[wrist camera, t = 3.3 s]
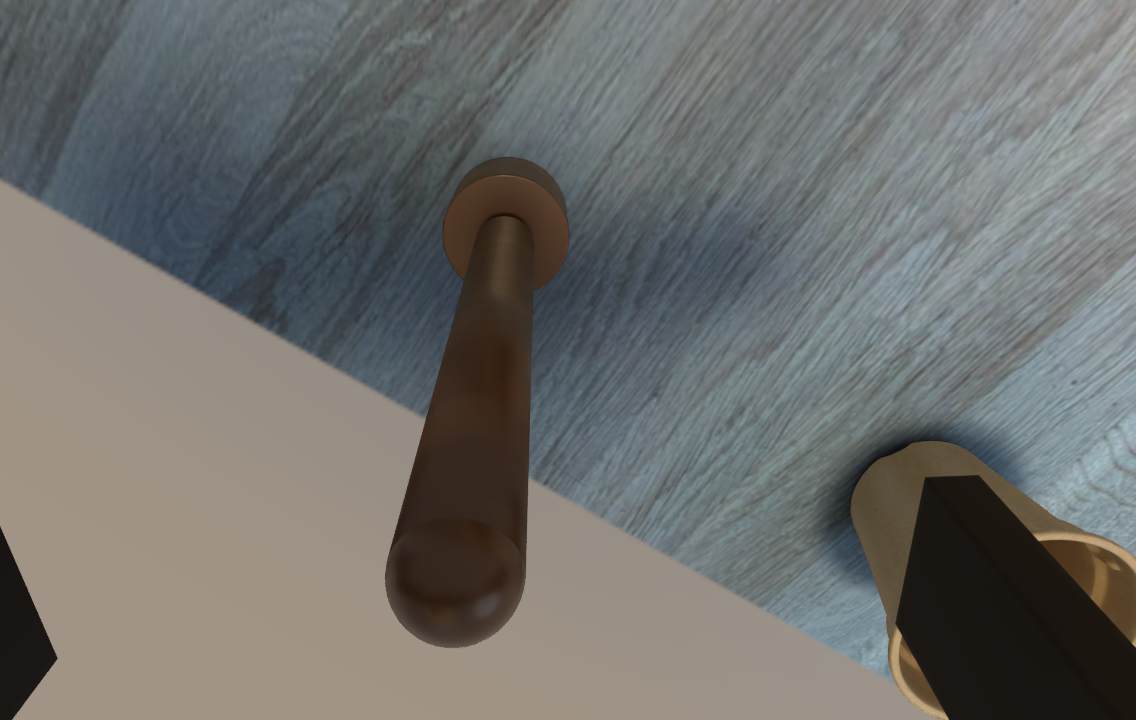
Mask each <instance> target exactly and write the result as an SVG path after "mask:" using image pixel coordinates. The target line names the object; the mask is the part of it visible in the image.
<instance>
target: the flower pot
mask: <svg viewBox="0 0 1136 720" xmlns="http://www.w3.org/2000/svg"><path fill="white" fill-rule="evenodd" d="M964 475H979V476H980V477H981V478H982V479H983V480H984V481H985V482H986V483H987V485H988V486H989V487H990V488H991V489H992V490H993V491H994V492H995V493H996V494H997V496H998V497H999V498H1000V499H1001V500H1002V501H1003V502H1004V503H1005V504H1006V505H1007V507H1008V508H1009V509H1010V510H1011V511H1012V512H1013V513H1014V514H1015V515H1016V516H1017V518H1018V519H1019V520H1020V521H1021V522H1022V523H1023V524H1024V525H1025V526H1026V527H1027V529H1028V530H1029V531H1030V532H1031V533H1032V534H1033V535H1034V536H1035V537H1036V538H1037V540H1038V541H1039V542H1040V543H1041V544H1042V545H1043V546H1044V547H1045V548H1046V549H1047V551H1048V552H1049V553H1050V554H1051V555H1052V556H1053V557H1054V558H1055V559H1056V560H1057V562H1058V563H1059V564H1060V565H1061V566H1062V567H1063V568H1064V569H1065V570H1066V571H1067V573H1068V574H1069V575H1070V576H1071V577H1072V578H1073V579H1074V580H1075V581H1076V582H1077V583H1078V585H1079V586H1080V587H1081V588H1082V589H1083V590H1084V591H1085V592H1086V593H1087V594H1088V596H1089V597H1090V598H1091V599H1092V600H1093V601H1094V602H1095V603H1096V604H1097V605H1098V607H1099V608H1100V609H1101V610H1102V611H1103V612H1104V613H1105V614H1106V615H1107V616H1108V618H1109V619H1110V620H1111V621H1112V622H1113V623H1114V624H1115V625H1116V626H1117V627H1118V629H1119V630H1120V631H1121V632H1122V633H1123V634H1124V635H1125V636H1126V637H1127V638H1128V640H1129V641H1130V642H1131V643H1132V644H1133V645H1134V646H1135V647H1136V558H1135V557H1134V556H1133V555H1132V554H1131V553H1129V552H1128V551H1127V550H1126V549H1124V548H1123V547H1121V546H1120V545H1118V544H1116V543H1115V542H1113V541H1111V540H1109V539H1106V538H1104V537H1102V536H1099V535H1096V534H1093V533H1089V532H1085V531H1084V530H1082V529H1080V528H1079V527H1076V526H1074V525H1072V524H1070V523H1068V522H1065V521H1062V520H1059V519H1057V518H1056V517H1054V516H1053V515H1052V514H1050V513H1049V512H1048V511H1046V510H1045V509H1044V508H1043V507H1041V506H1040V505H1039V504H1037V503H1036V502H1035V501H1033V500H1032V499H1031V498H1029V497H1028V496H1027V495H1025V494H1024V493H1023V492H1021V491H1020V490H1019V489H1017V488H1016V487H1015V486H1014V485H1012V484H1011V483H1010V482H1008V481H1007V480H1006V479H1004V478H1003V477H1002V476H1000V475H999V474H998V473H996V472H995V471H994V470H992V469H991V468H990V467H988V466H987V465H986V464H984V463H983V462H982V461H981V460H980V459H978V458H977V457H976V456H975V455H973V454H972V453H971V452H969V451H968V450H966V449H964V448H962V447H960V446H958V445H955V444H952V443H948V442H942V441H922V442H915V443H911V444H909V445H908V446H907V447H906V448H904V449H902V450H901V451H899V452H896V453H894V454H892V455H889V456H886V457H882V458H880V459H878V460H877V461H876V462H874V463H873V464H872V465H871V466H870V467H869V468H868V469H867V470H866V472H865V473H864V474H863V475H862V477H861V478H860V480H859V481H858V483H857V485H856V487H855V490H854V493H853V496H852V500H851V517H852V521H853V524H854V528H855V530H856V532H857V534H858V537H859V539H860V542H861V545H862V547H863V550H864V553H865V555H866V558H867V561H868V564H869V566H870V569H871V572H872V574H873V577H874V580H875V583H876V586H877V589H878V592H879V594H880V597H881V600H882V603H883V606H884V609H885V611H886V614H887V616H886V624H887V633H888V637H889V644H888V661H889V667H890V671H891V673H892V676H893V679H894V681H895V683H896V684H897V686H898V688H899V689H900V691H901V692H902V694H903V695H904V696H905V697H906V698H907V699H908V701H909V702H911V703H912V704H913V705H915V706H916V707H917V708H919V709H920V710H921V711H924V712H926V713H927V714H930V715H931V716H934V717H937V718H939V719H943V720H949V719H948V717H947V716H946V714H945V712H944V710H943V708H942V707H941V705H940V703H939V701H938V699H937V698H936V696H935V694H934V692H933V691H932V689H931V687H930V685H929V683H928V682H927V680H926V678H925V676H924V674H923V673H922V671H921V669H920V667H919V665H918V664H917V662H916V660H915V658H914V656H913V655H912V653H911V651H910V649H909V648H908V646H907V644H906V642H905V640H904V639H903V637H902V635H901V633H900V631H899V630H898V628H897V626H896V624H895V622H896V617H897V612H898V607H899V602H900V597H901V593H902V588H903V583H904V578H905V573H906V568H907V563H908V558H909V553H910V548H911V543H912V538H913V533H914V529H915V524H916V519H917V514H918V509H919V504H920V499H921V494H922V489H923V484H924V479H925V477H939V476H964Z"/></svg>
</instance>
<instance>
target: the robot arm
mask: <svg viewBox="0 0 1136 720" xmlns="http://www.w3.org/2000/svg"><path fill="white" fill-rule="evenodd" d="M895 624H896V626H897V628H898V630H899V631H900V633H901V635H902V637H903V639H904V640H905V642H906V644H907V646H908V648H909V649H910V651H911V653H912V655H913V656H914V658H915V660H916V662H917V664H918V665H919V667H920V669H921V671H922V673H923V674H924V676H925V678H926V680H927V682H928V683H929V685H930V687H931V689H932V691H933V692H934V694H935V696H936V698H937V699H938V701H939V703H940V705H941V707H942V708H943V710H944V712H945V714H946V716H947V717H948V719H949V720H1136V647H1135V646H1134V645H1133V644H1132V643H1131V642H1130V641H1129V640H1128V638H1127V637H1126V636H1125V635H1124V634H1123V633H1122V632H1121V631H1120V630H1119V629H1118V627H1117V626H1116V625H1115V624H1114V623H1113V622H1112V621H1111V620H1110V619H1109V618H1108V616H1107V615H1106V614H1105V613H1104V612H1103V611H1102V610H1101V609H1100V608H1099V607H1098V605H1097V604H1096V603H1095V602H1094V601H1093V600H1092V599H1091V598H1090V597H1089V596H1088V594H1087V593H1086V592H1085V591H1084V590H1083V589H1082V588H1081V587H1080V586H1079V585H1078V583H1077V582H1076V581H1075V580H1074V579H1073V578H1072V577H1071V576H1070V575H1069V574H1068V573H1067V571H1066V570H1065V569H1064V568H1063V567H1062V566H1061V565H1060V564H1059V563H1058V562H1057V560H1056V559H1055V558H1054V557H1053V556H1052V555H1051V554H1050V553H1049V552H1048V551H1047V549H1046V548H1045V547H1044V546H1043V545H1042V544H1041V543H1040V542H1039V541H1038V540H1037V538H1036V537H1035V536H1034V535H1033V534H1032V533H1031V532H1030V531H1029V530H1028V529H1027V527H1026V526H1025V525H1024V524H1023V523H1022V522H1021V521H1020V520H1019V519H1018V518H1017V516H1016V515H1015V514H1014V513H1013V512H1012V511H1011V510H1010V509H1009V508H1008V507H1007V505H1006V504H1005V503H1004V502H1003V501H1002V500H1001V499H1000V498H999V497H998V496H997V494H996V493H995V492H994V491H993V490H992V489H991V488H990V487H989V486H988V485H987V483H986V482H985V481H984V480H983V479H982V478H981V477H980V476H979V475H964V476H939V477H925V479H924V484H923V489H922V494H921V499H920V504H919V509H918V514H917V519H916V524H915V529H914V533H913V538H912V543H911V548H910V553H909V558H908V563H907V568H906V573H905V578H904V583H903V588H902V593H901V597H900V602H899V607H898V612H897V617H896V622H895ZM56 660H57V656H56V654H55V651H54V649H53V647H52V644H51V642H50V640H49V638H48V635H47V633H46V631H45V628H44V626H43V624H42V622H41V619H40V617H39V615H38V612H37V610H36V608H35V605H34V603H33V601H32V599H31V596H30V594H29V592H28V589H27V587H26V585H25V582H24V580H23V578H22V576H21V573H20V571H19V569H18V566H17V564H16V562H15V559H14V557H13V555H12V553H11V550H10V548H9V546H8V544H7V541H6V539H5V536H4V534H3V532H2V530H1V527H0V720H12V719H13V718H14V716H15V715H16V714H17V712H18V711H19V710H20V708H21V707H22V706H23V704H24V703H25V701H26V700H27V699H28V698H29V696H30V695H31V694H32V692H33V691H34V690H35V688H36V687H37V685H38V684H39V683H40V682H41V680H42V679H43V677H44V676H45V675H46V673H47V672H48V671H49V669H50V668H51V667H52V665H53V664H54V663H55V661H56Z"/></svg>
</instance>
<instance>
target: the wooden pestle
mask: <svg viewBox="0 0 1136 720" xmlns="http://www.w3.org/2000/svg"><path fill="white" fill-rule="evenodd" d="M442 238H443V245H444V250H445V253H446V256H447V258H448V260H449V262H450V264H451V266H452V267H453V269H454V270H455V272H456V273H457V274H458V275H459V276H460V277H461V278H462V279H463V280H464V282H463V286H462V290H461V293H460V297H459V301H458V304H457V308H456V312H455V315H454V319H453V322H452V326H451V330H450V333H449V337H448V341H447V344H446V348H445V352H444V355H443V359H442V363H441V366H440V370H439V374H438V377H437V381H436V384H435V388H434V392H433V395H432V399H431V403H430V406H429V410H428V414H427V417H426V421H425V425H424V429H423V432H422V435H421V439H420V443H419V447H418V450H417V454H416V457H415V461H414V465H413V468H412V472H411V476H410V479H409V483H408V487H407V491H406V494H405V498H404V501H403V505H402V509H401V512H400V516H399V519H398V523H397V527H396V530H395V534H394V538H393V541H392V545H391V548H390V552H389V556H388V560H387V565H386V572H385V586H386V591H387V597H388V600H389V603H390V606H391V608H392V610H393V612H394V614H395V615H396V617H397V619H398V620H399V622H400V623H401V624H402V625H403V626H404V627H405V629H406V630H408V631H409V632H410V633H412V634H413V635H414V636H416V637H417V638H418V639H420V640H422V641H424V642H426V643H428V644H431V645H434V646H439V647H445V648H460V647H467V646H470V645H474V644H477V643H479V642H481V641H483V640H485V639H487V638H489V637H491V636H492V635H494V634H495V633H496V632H498V631H499V630H500V629H501V628H502V627H503V626H504V625H505V624H506V622H507V621H508V620H509V619H510V618H511V617H512V615H513V613H514V612H515V610H516V608H517V606H518V604H519V602H520V600H521V597H522V594H523V590H524V585H525V578H526V543H527V506H528V469H529V433H530V396H531V359H532V322H533V291H535V290H537V289H539V288H541V287H542V286H544V285H545V284H547V283H548V282H549V281H550V280H551V279H552V278H553V277H554V276H555V275H556V274H557V272H558V271H559V269H560V268H561V266H562V264H563V262H564V260H565V258H566V254H567V251H568V246H569V227H568V219H567V210H566V204H565V200H564V197H563V194H562V192H561V190H560V188H559V186H558V185H557V183H556V182H555V181H554V179H553V178H552V177H551V176H550V175H549V174H548V173H547V172H546V171H545V170H543V169H542V168H540V167H539V166H537V165H536V164H533V163H531V162H529V161H526V160H523V159H518V158H497V159H493V160H489V161H487V162H484V163H482V164H480V165H478V166H477V167H475V168H474V169H472V170H471V171H470V172H469V173H468V174H467V175H466V176H465V177H464V178H463V180H462V181H461V182H460V184H459V186H458V187H457V189H456V191H455V194H454V196H453V198H452V200H451V203H450V205H449V207H448V209H447V212H446V215H445V218H444V222H443V230H442Z"/></svg>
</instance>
